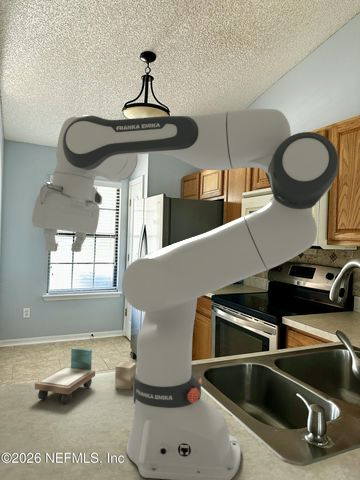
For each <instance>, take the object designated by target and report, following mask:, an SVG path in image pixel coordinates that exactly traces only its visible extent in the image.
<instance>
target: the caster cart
mask: <svg viewBox="0 0 360 480" xmlns="http://www.w3.org/2000/svg"><path fill="white" fill-rule="evenodd" d="M92 351H93V349H92V348H91V349H90V348H82V347H72V348H71V354H70V356H71V357H70V367H69V366H63V367H62V368H59V369H58V370H56V371H54V372H53V373H51V374H49V375H47V376H46V377H44V378H41V379H40V380H38V381H36V382H35V383H34V390H38V393H37V398H38V399H39V400H46V399H47V398H48V395H49V392H50V393H57V394H62V395H61V402H62V404H69V403H70V401H71V400H72V393H73V392H74V391H76V390H77V389H78V388H80V387H81V386H83V388H85V389H86V388H87V389H90V387H91V386H92V383H93V382H92V380H93V378H95V376H96V370H93V369H92V354H93V353H92Z"/></svg>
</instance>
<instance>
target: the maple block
mask: <svg viewBox="0 0 360 480" xmlns="http://www.w3.org/2000/svg"><path fill="white" fill-rule="evenodd" d="M114 374H115V376H114V379H115V382H114V387H115V388H116V389H117V388H118V389H124V390H131V389H132V388H133V387H134V377H135V375H136V374H137V362H130V361H121V362H119V364H117V365H116V366H115V373H114Z"/></svg>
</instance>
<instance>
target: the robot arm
mask: <svg viewBox="0 0 360 480" xmlns="http://www.w3.org/2000/svg"><path fill="white" fill-rule="evenodd" d="M291 131H292V130H291V126H290V122H289V121H288V118H287V117H286V115H285V114H284V113H283V112H282V111H281V110H278V109H276V108H275V109H274V108H242V109H234V110H227V111H221V112H213V113H204V114H197V115H163V116H151V117H150V116H149V117H136V118H135V117H134V118H125V119H123V118H122V119H108V118H107V119H106V118H103V117H100V116H97V115H94V114H84V115H76V116H75V115H74V116H71V117H69V118H67V119H65V120H64V122H63V124H62V126H61V129H60V132H59V135H58V139H57V143H56V144H57V146H56V153H55V157H56V166H55V168H54V170H53V176H52V183H51V182H45V184H43V185H42V186H41V187H40V188H39V189H40V190H39V193H38V195H37V196H36V200H35V203H34V207H33V211H32V217H31V222H32V226H33V227H35V228H40V229H44V230H43V237H44V240H45V242H46V245H45V250H46V251H47V252H57V251H58V247H59V243H57V242H56V241H57V240H56V235H57V233H58V231H62V232H63V231H66V232H70V233H71V232H72V233H73V232H75V233H74V235H75V236H74V237H76V238H75V240H74V243H71V249H70V251H72V252H75V253H80V252H81V251H82V247H83V244H84V243H85V240H86V238H87V235H94V234H95V233H96V231H97V230H98V225H99V219H100V206H99V205H102V202H103V196H102V195H101V193H100V192H99V191H98V190H97V189H96V187H95V185H94V184H95V178H96V177H102V178H104V179H107V180H110V181H115V182H116V181H117V182H119V181H124V180H126V179H128V178H130V176H132V174H134V172H135V170H136V167H137V166H138V165H137V164H138V155H145V154H160V155H167V156H170V157H173V158H175V159H179V160H180V161H183V162H185V163H186V164H189V165H191V166H193V167H194V168H197V169H199V170H207V171H228V170H229V171H230V170H238V169H248V168H255V169H256V168H257V169H260V170H262V171H264V172H265V177H266V179H267V181H268V184H269V186H270V190H271V193H272V198H271V199H270V201H269V202H268V203H267V204H266V205H264V206H263V207H261V208H259V209H257V210H255V211H253V212H251V213H248V214H245V215H244V216H243V215H242V217H239V218H236V219H234V220H231V221H230V222H227V223H225V224H223V225H221V226H218V227H216V228H213V229H211V230H208V231H207V232H204V233H201V234H199V235H196V236H193V237H190V238H186V239H184V240H181V241H179V242H176V243H173V244H171V245H168V246H165V247H162V248H160V249H157V250H155V251H152V252H149V253H147V254H145V255H142V256H141V257H139V258H136V260H134V261H133V262H131V263H130V264H129V265H128V266H127V268H126V269H125V271H124V273H123V276H122V279H121V288H122V293H123V295H124V299H125V300H126V301H127V302H128V304H129V305H130V306H131V307H132V308H134V309H135V310H138V311H140V312H144V317H143V320H142V325H141V327H140V330H139V332H138V334H137V339H136V340H137V341H136V375H135V377H134V386H133V387H132V388H133V389H132V390H133V391H132V392H133V403H134V411H133V415H132V416H133V418H132V424H131V429H130V432H129V437H128V441H127V444H126V446H125V447H126V450H125V451H126V454H127V456H128V459H129V460H131V461H132V462H133V463H134V464H135V465H136V466H137V468H138V472H139V474H140V475H141V477H143V478H146V479H161V480H232V479H233V478H234V477H235V475H236V474H237V472H238V471H239V468H240V464H241V459H242V454H241V453H242V452H241V445H240V443H239V441H238V439H237V438H236V437H235V436H234V435H231V434H230V433H229V428H228V427H229V426H228V423H227V419H226V417H225V415H224V414H223V413H221V412H220V411H219V410H218V409H217V408H216V407H215V406H213V405H212V404H211V403H210V402H209V401H208V400H206V399H205V398H204V397H203V396H202V377H200V378H199V380H197V378H196V377H194V375H193V374H192V361H193V360H192V359H193V358H192V354H193V352H192V351H193V332H194V326H195V319H196V312H197V304H198V299H199V298H201V297H204V296H205V295H208V294H210V293H213V292H215V291H218V290H220V289H222V288H225V287H228V286H230V285H232V284H234V283H237V282H240V281H242V280H245V279H247V278H251V277H252V276H255V275H257V274H260V273H264V272H265V271H268V270H271V269H273V268H276V267H278V266H280V265H282V264H284V263H286V262H288V261H290V260H291V259H293V258H296V257H297V256H298V255H300V254H302V253H304V252H305V251H307V250H308V249H310V248H311V247H312V246H313V245H314V244H315V242H316V240H317V236H318V235H317V234H318V228H317V223H316V220H315V217H314V215H313V207H315V206H316V205H317V203H318V202H319V201H320V200H321V199H322V198H323V197H324V196H326V195H327V193H328V192H329V191H330V189H331V187H332V186H333V183H334V182H335V179H336V177H337V175H338V172H339V167H340V161H339V160H340V159H339V154H338V150H337V148H336V147H335V145H334V144H333V142H332V141H330V139H329V138H328V137H326V136H324V135H322V134H320V133H318V132H311V131H304V132H303V131H302V132H297V133H295V134H292V133H291Z"/></svg>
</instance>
